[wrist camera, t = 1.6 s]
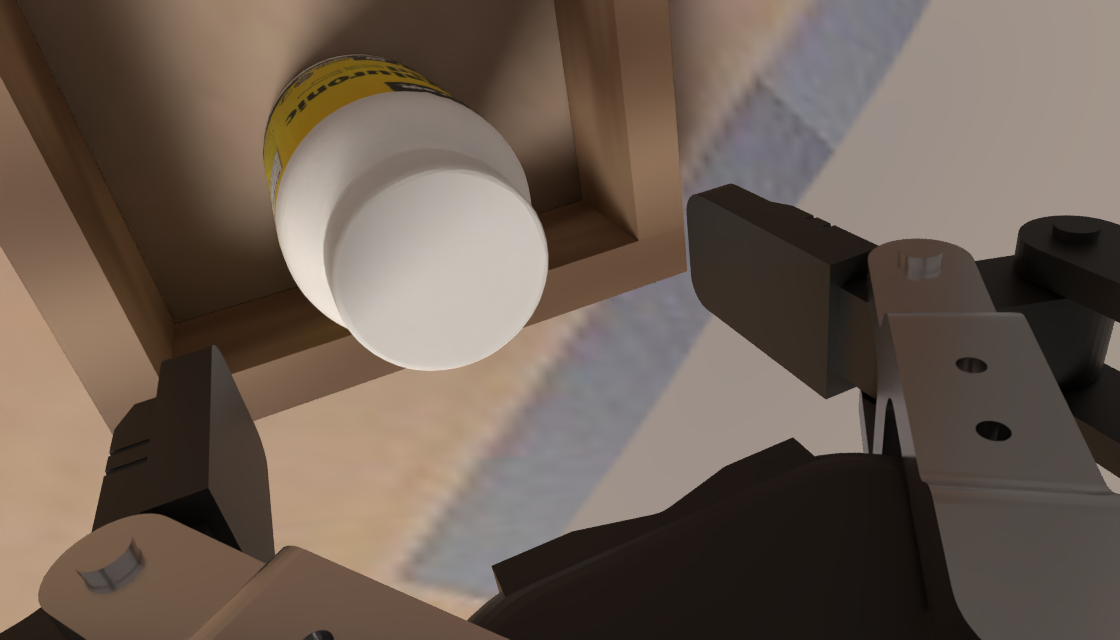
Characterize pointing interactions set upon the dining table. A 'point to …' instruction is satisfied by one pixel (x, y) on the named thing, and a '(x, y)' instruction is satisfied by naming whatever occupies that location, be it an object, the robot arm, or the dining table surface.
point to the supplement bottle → (402, 213)
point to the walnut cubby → (289, 317)
